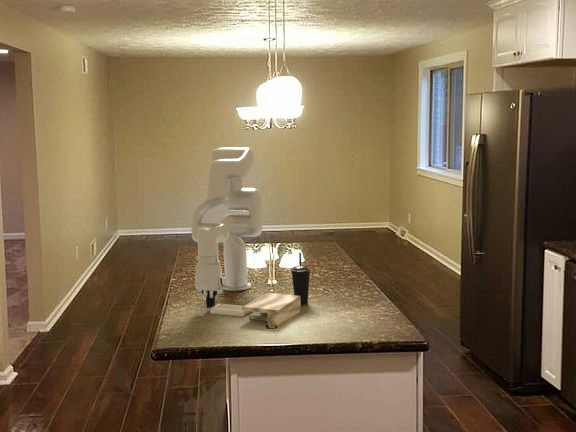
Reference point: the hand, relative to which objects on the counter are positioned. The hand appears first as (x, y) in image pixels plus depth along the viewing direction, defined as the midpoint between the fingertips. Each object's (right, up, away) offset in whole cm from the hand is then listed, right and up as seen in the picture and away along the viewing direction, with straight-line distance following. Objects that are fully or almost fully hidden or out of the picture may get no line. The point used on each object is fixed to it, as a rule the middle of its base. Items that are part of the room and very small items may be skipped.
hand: (210, 307), depth 272 cm
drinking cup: (+34, 0, +7) cm, 35 cm away
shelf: (+24, -2, -10) cm, 26 cm away
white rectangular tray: (+8, -2, -3) cm, 9 cm away
